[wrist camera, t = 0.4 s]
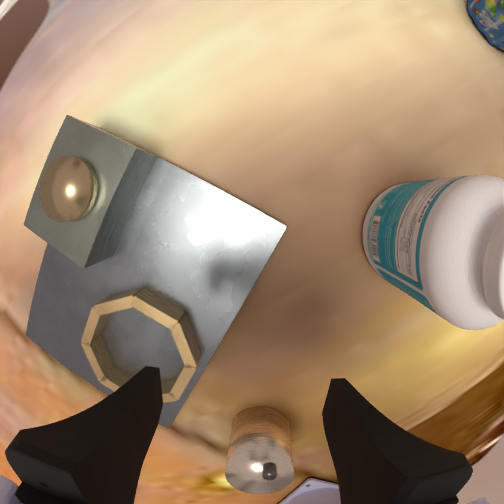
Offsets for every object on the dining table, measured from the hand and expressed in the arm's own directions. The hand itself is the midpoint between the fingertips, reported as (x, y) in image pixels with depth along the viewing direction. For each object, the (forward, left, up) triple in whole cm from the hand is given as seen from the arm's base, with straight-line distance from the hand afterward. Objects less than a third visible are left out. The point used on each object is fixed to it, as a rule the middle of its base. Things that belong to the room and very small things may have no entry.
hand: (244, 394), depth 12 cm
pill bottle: (+10, -7, -11) cm, 17 cm away
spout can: (-10, -6, -11) cm, 16 cm away
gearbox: (-4, +9, -11) cm, 14 cm away
